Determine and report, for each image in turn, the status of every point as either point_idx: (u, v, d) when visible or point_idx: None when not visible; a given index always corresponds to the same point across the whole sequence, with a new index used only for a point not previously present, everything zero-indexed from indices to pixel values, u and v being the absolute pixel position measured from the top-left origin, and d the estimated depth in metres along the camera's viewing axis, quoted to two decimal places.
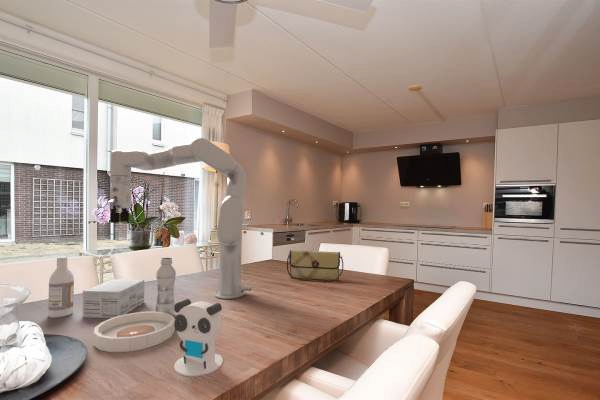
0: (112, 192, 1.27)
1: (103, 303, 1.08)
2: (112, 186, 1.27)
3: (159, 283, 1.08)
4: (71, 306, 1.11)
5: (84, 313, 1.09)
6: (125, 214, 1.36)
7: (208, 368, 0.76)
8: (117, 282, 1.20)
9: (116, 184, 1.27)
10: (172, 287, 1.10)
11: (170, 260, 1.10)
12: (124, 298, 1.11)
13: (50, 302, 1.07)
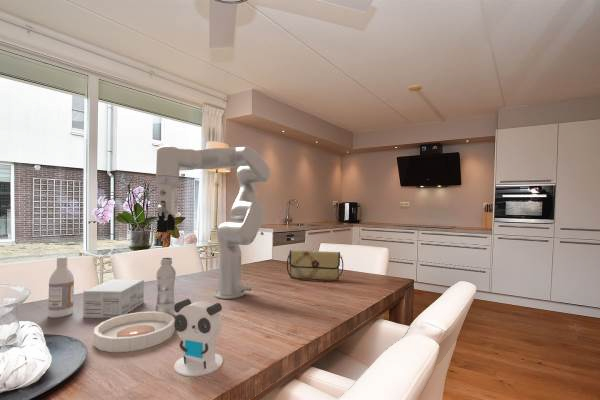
0: (160, 196, 1.06)
1: (104, 303, 1.08)
2: (159, 189, 1.07)
3: (159, 283, 1.08)
4: (71, 306, 1.11)
5: (85, 313, 1.08)
6: (170, 222, 1.15)
7: (208, 368, 0.76)
8: (117, 282, 1.20)
9: (164, 186, 1.07)
10: (172, 287, 1.10)
11: (170, 260, 1.10)
12: (125, 298, 1.12)
13: (50, 302, 1.07)
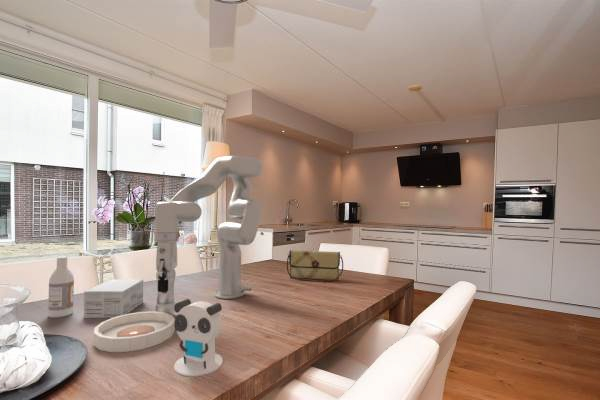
0: (159, 254, 1.06)
1: (105, 303, 1.08)
2: (159, 246, 1.06)
3: None
4: (71, 306, 1.11)
5: (85, 314, 1.08)
6: None
7: (208, 368, 0.76)
8: (116, 282, 1.20)
9: (163, 244, 1.07)
10: (172, 287, 1.10)
11: None
12: (126, 298, 1.12)
13: (50, 302, 1.07)
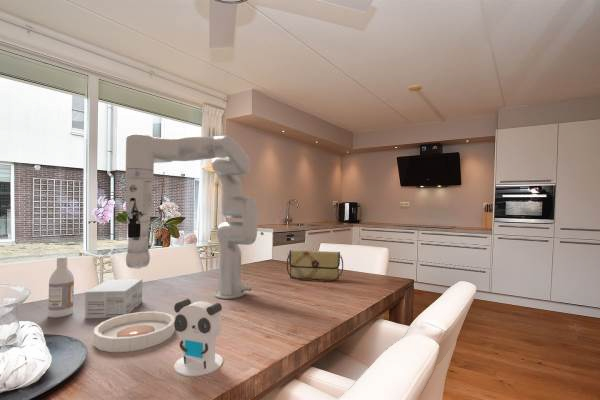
0: (129, 192, 0.90)
1: (107, 303, 1.09)
2: (129, 184, 0.90)
3: None
4: (71, 306, 1.11)
5: (87, 314, 1.08)
6: None
7: (208, 368, 0.76)
8: (116, 282, 1.20)
9: (134, 181, 0.91)
10: (145, 234, 0.94)
11: None
12: (128, 298, 1.12)
13: (50, 302, 1.07)
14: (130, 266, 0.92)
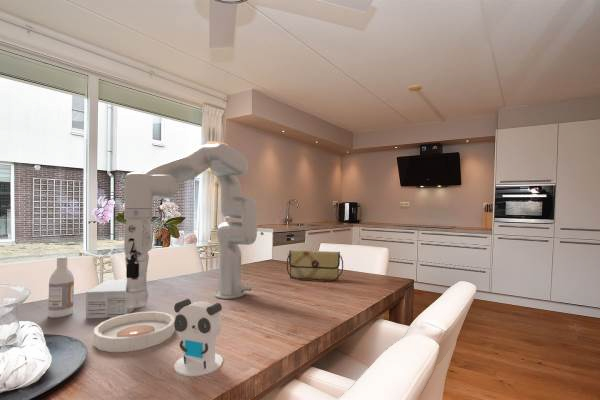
0: (127, 233, 0.90)
1: (109, 303, 1.09)
2: (127, 224, 0.90)
3: None
4: (71, 306, 1.11)
5: (88, 314, 1.08)
6: None
7: (208, 368, 0.76)
8: (115, 282, 1.19)
9: (133, 221, 0.90)
10: (144, 273, 0.94)
11: None
12: None
13: (50, 302, 1.07)
14: (128, 306, 0.91)
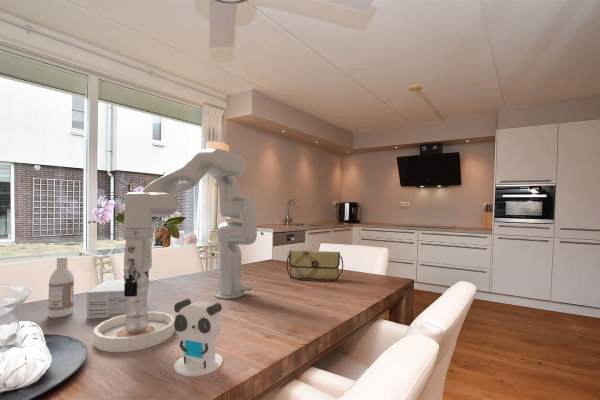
0: (127, 253, 0.90)
1: (110, 303, 1.09)
2: (127, 244, 0.90)
3: None
4: (71, 306, 1.11)
5: (88, 314, 1.07)
6: None
7: (208, 368, 0.76)
8: (115, 282, 1.19)
9: (133, 241, 0.90)
10: (144, 298, 0.94)
11: None
12: None
13: (50, 302, 1.07)
14: (128, 331, 0.91)
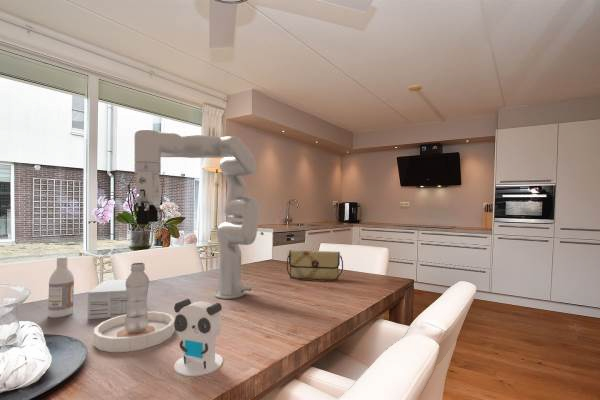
0: (139, 184, 0.96)
1: (111, 303, 1.09)
2: (138, 176, 0.97)
3: (128, 293, 0.92)
4: (71, 306, 1.11)
5: (90, 315, 1.07)
6: (152, 213, 1.06)
7: (208, 368, 0.76)
8: (115, 282, 1.19)
9: (143, 173, 0.97)
10: (144, 298, 0.94)
11: (142, 266, 0.94)
12: None
13: (50, 302, 1.07)
14: (128, 331, 0.91)
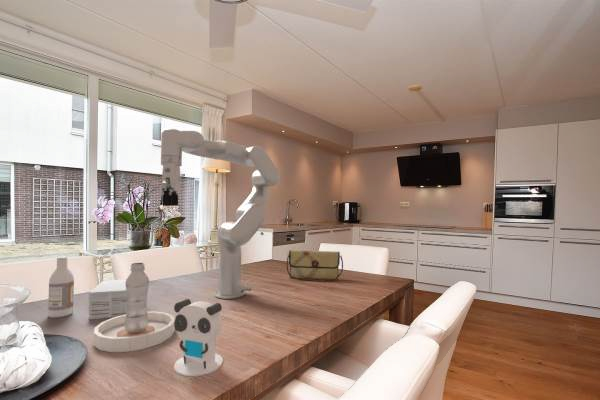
0: (164, 173, 1.18)
1: (113, 303, 1.09)
2: (164, 167, 1.18)
3: (128, 293, 0.92)
4: (71, 306, 1.11)
5: (91, 315, 1.07)
6: (174, 198, 1.27)
7: (208, 368, 0.76)
8: (114, 282, 1.19)
9: (168, 164, 1.19)
10: (144, 297, 0.94)
11: (142, 266, 0.94)
12: None
13: (50, 302, 1.07)
14: (128, 331, 0.91)
